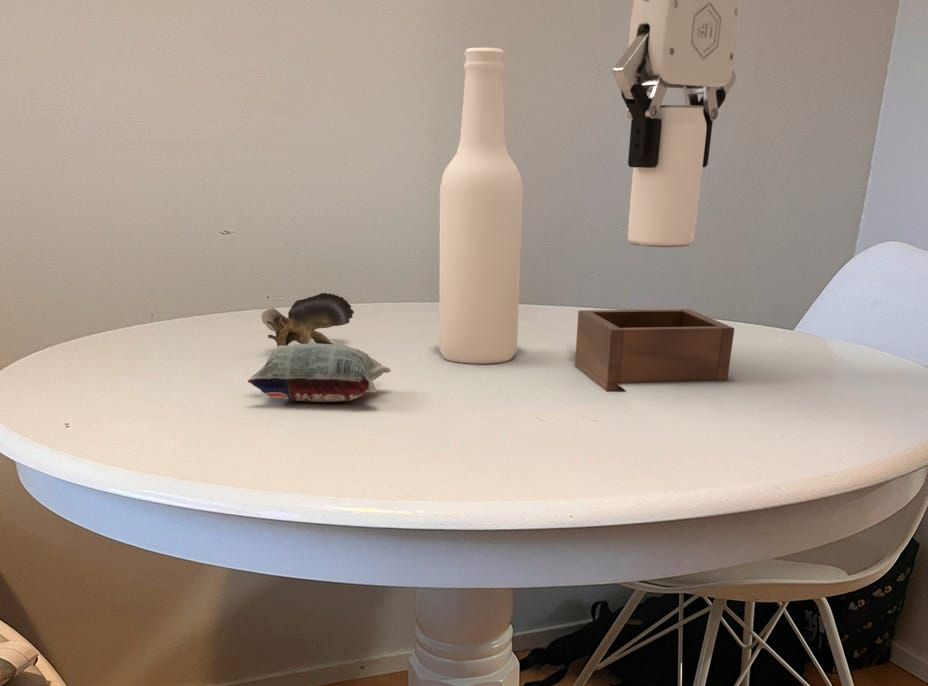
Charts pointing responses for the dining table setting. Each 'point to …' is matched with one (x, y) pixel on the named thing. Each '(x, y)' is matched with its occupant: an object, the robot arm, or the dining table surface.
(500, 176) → the alcohol
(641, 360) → the box
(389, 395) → the dining table surface
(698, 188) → the can
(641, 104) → the robot arm
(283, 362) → the packaged food
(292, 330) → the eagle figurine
